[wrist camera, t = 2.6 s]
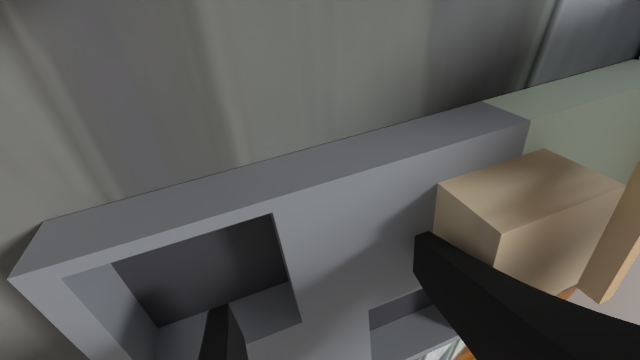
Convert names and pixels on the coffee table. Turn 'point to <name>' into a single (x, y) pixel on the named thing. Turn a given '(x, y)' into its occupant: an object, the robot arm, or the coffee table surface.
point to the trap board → (322, 234)
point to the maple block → (529, 217)
